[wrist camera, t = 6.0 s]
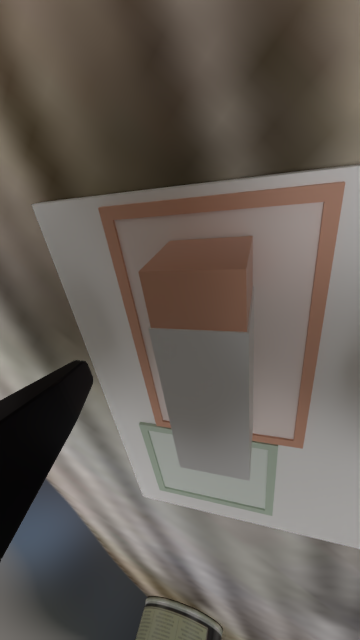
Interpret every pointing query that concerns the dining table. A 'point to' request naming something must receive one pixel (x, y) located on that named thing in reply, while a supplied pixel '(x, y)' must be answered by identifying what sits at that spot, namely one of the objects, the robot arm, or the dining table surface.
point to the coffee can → (175, 622)
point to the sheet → (269, 337)
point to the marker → (205, 348)
